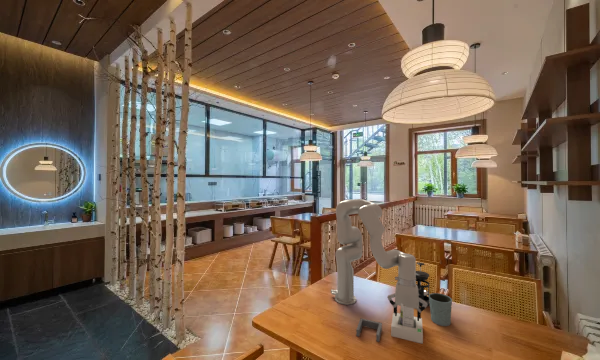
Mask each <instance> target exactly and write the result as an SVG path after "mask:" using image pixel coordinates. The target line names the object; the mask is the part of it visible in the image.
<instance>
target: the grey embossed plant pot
mask: <svg viewBox="0 0 600 360" xmlns="http://www.w3.org/2000/svg"><path fill="white" fill-rule="evenodd" d="M429 303H430V305H429V309H430V310H429V311H430V319H431V321H432V322H433V323H434V324H436V325H437V326H442V327H449V326H450V325H451V323H452V305H453V300H452V298H451V297H450V296H448V295H446V294H443V293H439V292H436V293H435V292H431V293H429Z"/></svg>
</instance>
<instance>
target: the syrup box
mask: <svg viewBox="0 0 600 360" xmlns="http://www.w3.org/2000/svg"><path fill="white" fill-rule="evenodd" d="M399 312H400V325H402V326H407V327H411V328H414V316H415V309H414V308H410V307H406V306H405V305H403V304H402V303H401V306H400V311H399Z"/></svg>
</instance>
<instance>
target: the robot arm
mask: <svg viewBox="0 0 600 360" xmlns="http://www.w3.org/2000/svg"><path fill="white" fill-rule="evenodd" d="M356 214H357V215H358V216H359V219H360V220H361V222H362V224H363V225H364V227H365V229H366V231H367V233H368V235H369V244H370V245H369V246H370V251H371V254H372V256H373V257H374V259H375V262H376V263H377V264H378V265H379V267H380V268H382V269H386V270H387V269H391V268H394V267H397V269H398V271H397V273H398V274H397V276H395V277H394V280H395V281H396V283H395V285H396V286H395V291H394V292H395V293H391V294H388V295H387V300H388V301H389V303H390V304H391V306H392V307H393V312H394V313H395V316H397V313H398V306H399V307H401V303H402V304H403V305H405V306H406V307H410V308H414V310H415V309H416V311H417V313H416V314H417V316H416V317H417V321H419V319H421V318H422V312H423V311H425V310H426V308H428V307H427V305H428V304H427V302H425V301H424V300H422V299H421V298H419V293H418V287H417V281H416V271H417V270H416V268H417V267H416V265H417V261H416V257H415V255H413V254H410V253H405V252H403V251H402V250H401V251H400V250H398V249H395V248H394V249H389V250H387V251H386V250H385V247H384V246H383V243H382V238H383V237H382V236H383V235H384V233H385V231H386V228H385V225H384V224H383V223H382V221H381V219H380V218H382V216H383V210H382V207H381V206H380V205H379V204H377V203H374V202H371V201H368V200H365V199H361V198H355V199H353V198H352V199H345V200H342V201H339V202H338V204H337V205H336V207H335V216H336V235H337V242H339V244H340V245H344V246H341V247H338V248H337V249H336V251H335V254H334V255H335V261H336V269H337V270H336V271H337V272H336V274H337V275H336V277H337V279H336V280H337V285H336V286H337V289H332V288H331V289H330V293H331V295H332V296H333V295H334V300H335V302H336V303H338V304H341V305H346V306H348V305H354V304H355V303H356V302H357V297H356V295H355V294H354V291H355V290H354V289H355V288H354V284H355V283H354V280H355V279H354V276H355V275H354V268H353V267H354V266H352V262H354V261H357V260H360V259H361V258H362V256H363V234H362V232H361V230H360V228H359V227H358V226H352V225H353V224H352V219H351V217H350V215H356ZM393 298H394V300H393ZM419 302H421V303H422V304H423V306H419Z"/></svg>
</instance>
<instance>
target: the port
mask: <svg viewBox="0 0 600 360" xmlns="http://www.w3.org/2000/svg"><path fill="white" fill-rule="evenodd" d="M390 326H391V327H390V329H391V330H390V336H391V337H394V338H398V339H401V340H402V339H403V340H405V341H410V342H414V343H417V344H422V345H423V344H424V343H423V342H424V333H423V332H424V330H423V329H424V328H423V318H422V317H421V319H419V321H417V316H415V315H414V328H411V327H407V326H402V325H400V313H399V312H397V316H395V313H394V311H393V313H392V319H391V325H390Z"/></svg>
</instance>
